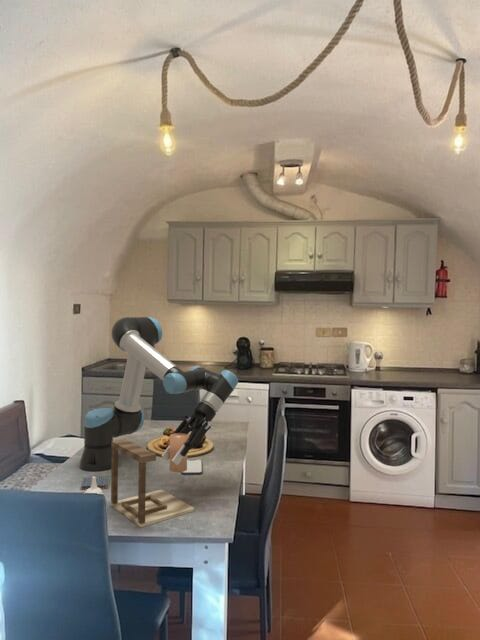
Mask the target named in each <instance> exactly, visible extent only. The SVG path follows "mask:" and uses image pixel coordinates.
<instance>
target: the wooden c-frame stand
mask: <svg viewBox="0 0 480 640" xmlns="http://www.w3.org/2000/svg"><path fill="white" fill-rule="evenodd" d="M111 447H112V467H111V469H110V470H111V477H110V478H111V479H110V485H111V486H110V487H111V488H110V489H111V491H110V495H111V496H110V506H111V507H112V508H114V510H116V511H118V512H119V513H121V514H122V515H123V516H124V517H126V518H127V519H128V520H130V521H132V522H133V523H135V525H137V526H138V527H140V528H143V527H147V526H150V525H153V524H157V523H159V522H164V521H166V520H169V519H173V518H176V517H179V516H183V515H186V514H189V513H192V512H195V507H193V506H191V505H190V504H188V503H186V502H185V501H183V500H181V499H179V498H178V497H176V496H174V495H172V494H170V493H169V492H167V491H165V490H163V489H157V490H154V491H150V492H147V493H146V487H147V486H146V485H147V484H146V482H147V481H146V480H147V479H146V478H147V477H146V476H147V473H146V472H147V463H150V462H155V461H157V456H156V454H155V453H153V452H151V451H149V450H147V448H144V447H142V446H140V445H138V444H136V443H134V442H132V441H130V440H128V439H126V438H125V439H119V440H113V441H112V445H111ZM119 453H121V454H123V455H125V456H127V457H129V458H131V459H132V460H134V461H136V462H138V494H137V495H135V496H131V497H127V498H123V499H119V498H118V496H119V495H118V493H119V492H118V490H119V489H118V488H119V486H118V485H119Z"/></svg>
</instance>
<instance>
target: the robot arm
mask: <svg viewBox="0 0 480 640" xmlns="http://www.w3.org/2000/svg"><path fill="white" fill-rule="evenodd" d="M162 337H163V329H162V326H161V325H160V322H159V321H158V320H157V319H156V318H154V317H150V316H149V317H148V316H134V317H128V316H127V317H122V318H119V319H118V320H117V321H116V322H115V323H114V324H113V326H112V328H111V338H112V341H113V343H114V344H115V346H116V347H118V348H119V349H120V350H121V351H123V352H128V354H127V359H126V364H125V370H124V374H123V379H122V383H121V384H122V385H121V390H120V394H119V398H118V400H117V401H115V402H114V405H113V409H112V408H111V407H101V408H100V407H99V408H95V409H92V410H89V411H88V412H87V413H86V414H85V415H84V421H83V425H84V432H83V433H84V435H83V436H84V445H83V446H84V447H83V448H84V449H83V451H82V455H81V457H80V460H79V468H80V469H81V470H84V471H88V472H89V471H90V472H103V471H107V470H111V467H112V447H111V445H112V441H114V439H115V438H118V437H123V436H126V435H132V434H133V433H134V434H135V433H137V432H139V431H140V430H141V428H143V425H144V422H145V415H144V411H143V409H142V406H141V404H140V397H141V393H142V388H143V383H144V379H145V374H146V369H148V370H149V371H150V372H151V373H152V374H153V375H155V376H156V377H158V379H160V380H161V381H162V385H163V388H164V390H165V392H166V393H167V394H170V395H175V394H176V395H180V394H183V393H187V392H193V391H198V390H204V391H206V393H205V394H204V395H203V397H202V398H201V399H200V402H198V403H197V405H196V406H195V408H194V409H193V410H194V413H193V414H192V415H191V416H188V415H185V416H184V418H183V420H182V421H181V423H180V424H179V425H178V427H176V429H174V433H184V434H188V435H190V436H189V438H188V440H187V442H186V443H184V444H185V445H186V446H185V445H183V446H182V447H181V448H180V450H179V451H178V452H177V454H176V455H175V457H174V458H173V459H172V461H173V462H174V463H175V464H176V465H178V464H179V463H180V461H181V460H182V459H183V457H184V456H185V455H186V454H187V453H188V451H189V450H191V449H192V448H193V449H196V447H197V446H198V444H199V443H200V441H201V440H202V438H203V437H204V435H205V436H206V434H207V432H208V431H209V430H210V429H211V428H212V426H211V425H210V424H209V423H210V422H212V421H213V419H214V418H215V417H216V415H217V413H218V412H219V411H220V410H221V408H222V406H223V405H224V404H225V402H226V401H227V399H228V398H229V397H230V395H231V394H232V393H233V392H234V391H235V389H236V387H237V385H238V383H239V379H238V377H237V376H236V374H235V373H234V372H232V371H230V370H229V369H223V370H222V371H221V372H220V373H217V372H214V371H211V370H209V369H207V368H205V367H201V366H198V365H195V366H192V368H190V369H189V370H187V371H185V370H182V369H181V368H179V366H177V365H176V364H175V363H173V361H171V360H169V359H168V357H166V356H165V355H164V354H162V353H161V352H160V351H159V350H157V349H156V348H155V345H157V344H158V343H159V342H161V340H162ZM174 433H173V434H174ZM189 433H190V434H189ZM194 444H195V445H194ZM161 458H164V459H165V461H168V460H170V444H169V446H168V447H167V449H166V450H165V452H164V453H163V454H162V457H161Z"/></svg>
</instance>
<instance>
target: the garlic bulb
mask: <svg viewBox="0 0 480 640" xmlns="http://www.w3.org/2000/svg"><path fill="white" fill-rule="evenodd" d="M85 493H97V494H103V495H104V493H103V489H100V488H98V487H97V483H96V476H94V475H93V476H92V484H91V487H90V488H87V490H84V494H85Z"/></svg>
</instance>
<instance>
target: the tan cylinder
mask: <svg viewBox="0 0 480 640" xmlns="http://www.w3.org/2000/svg"><path fill="white" fill-rule="evenodd" d="M186 442H187V434H184V433H174V434H171V435H170V458H169V471H170V472H173V473H181V472H184V471H186V470H187V460H188V458H187V454H186V455H185V456H184V457H183V459H182V460H181V461H180V463H179V464H178V465H176V464H175V463H174V462H173V461H172V459H173V458H174V457H175V455H176V454H177V452H178V451H179V450H180V448H181V447H182V446H183V445H185V444H184V443H186ZM185 446H186V445H185Z"/></svg>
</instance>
